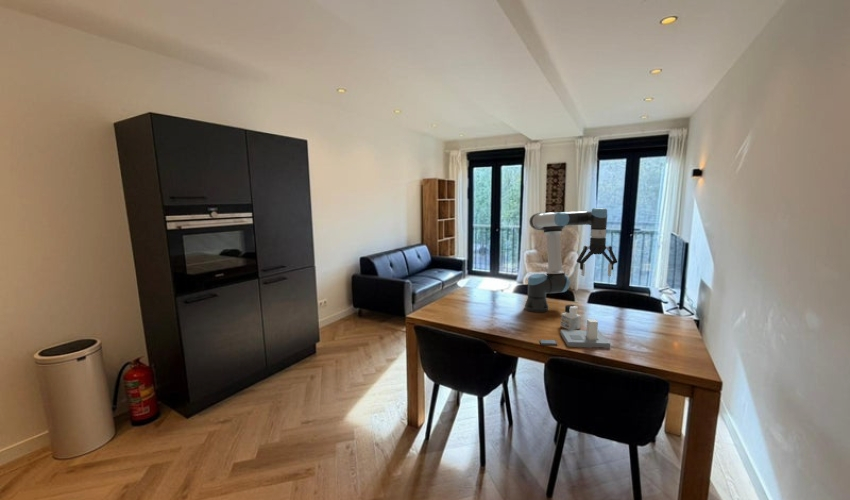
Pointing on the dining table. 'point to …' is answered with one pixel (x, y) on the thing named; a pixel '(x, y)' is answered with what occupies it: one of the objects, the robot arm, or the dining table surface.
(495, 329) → the dining table surface
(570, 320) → the container
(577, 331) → the outlet plate
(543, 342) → the phone
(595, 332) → the light grey rectangular block
